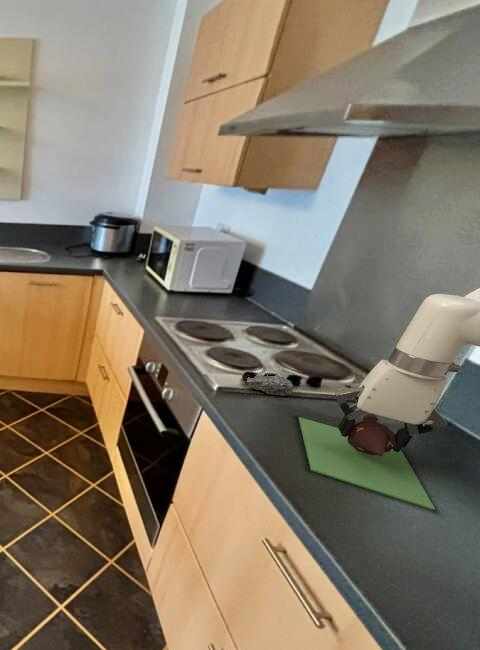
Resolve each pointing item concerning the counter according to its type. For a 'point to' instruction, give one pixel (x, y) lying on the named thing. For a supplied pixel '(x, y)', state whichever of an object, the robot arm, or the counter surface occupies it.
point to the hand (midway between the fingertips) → (367, 440)
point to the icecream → (371, 436)
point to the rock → (271, 384)
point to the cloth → (361, 464)
